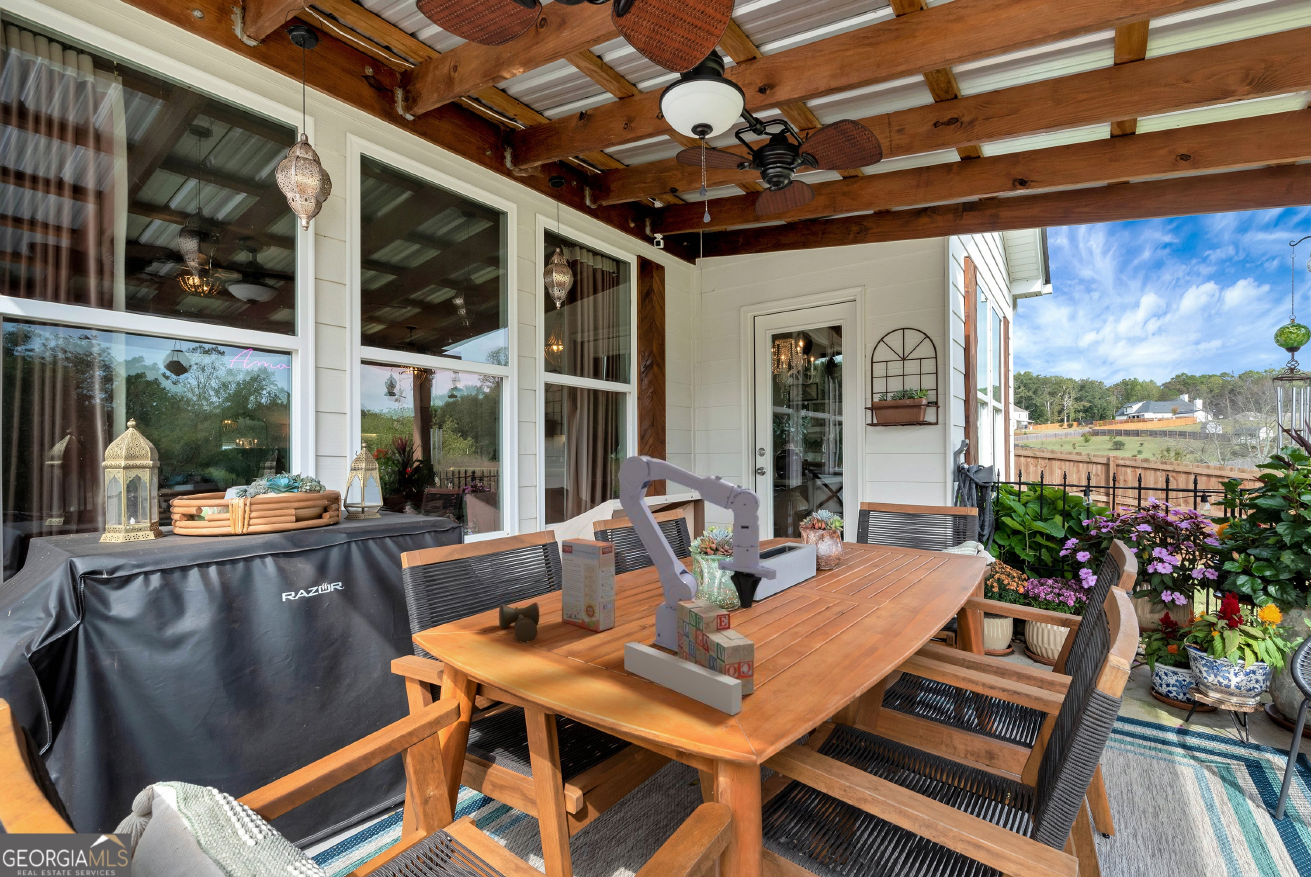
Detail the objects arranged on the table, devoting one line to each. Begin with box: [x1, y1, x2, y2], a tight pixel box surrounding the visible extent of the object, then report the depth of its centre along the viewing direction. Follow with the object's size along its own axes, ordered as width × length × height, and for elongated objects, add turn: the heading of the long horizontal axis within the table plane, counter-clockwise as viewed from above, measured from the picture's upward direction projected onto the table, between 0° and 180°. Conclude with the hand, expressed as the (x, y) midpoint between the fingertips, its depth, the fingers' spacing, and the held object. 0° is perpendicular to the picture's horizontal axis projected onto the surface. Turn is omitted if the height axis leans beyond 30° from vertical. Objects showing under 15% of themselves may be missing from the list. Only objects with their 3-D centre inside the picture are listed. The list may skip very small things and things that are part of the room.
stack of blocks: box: [677, 598, 755, 696], centre depth 116 cm, size 21×6×12 cm, turn 21°
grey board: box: [623, 640, 743, 716], centre depth 110 cm, size 28×2×5 cm, turn 43°
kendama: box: [498, 601, 540, 643], centre depth 145 cm, size 6×10×20 cm
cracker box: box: [561, 537, 616, 633], centre depth 149 cm, size 14×6×21 cm, turn 48°
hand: (746, 607), depth 130 cm, fingers closed
